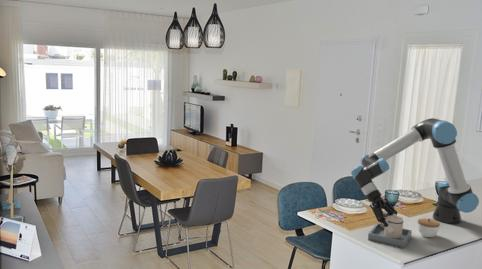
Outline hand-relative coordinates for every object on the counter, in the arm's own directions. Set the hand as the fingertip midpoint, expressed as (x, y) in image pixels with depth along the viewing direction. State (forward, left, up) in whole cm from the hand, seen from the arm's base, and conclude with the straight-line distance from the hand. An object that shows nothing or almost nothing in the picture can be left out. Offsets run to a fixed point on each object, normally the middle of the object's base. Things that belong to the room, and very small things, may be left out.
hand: (396, 229), depth 214 cm
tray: (+3, -1, -6) cm, 7 cm away
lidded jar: (-13, -17, -6) cm, 22 cm away
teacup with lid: (+3, -1, -4) cm, 5 cm away
